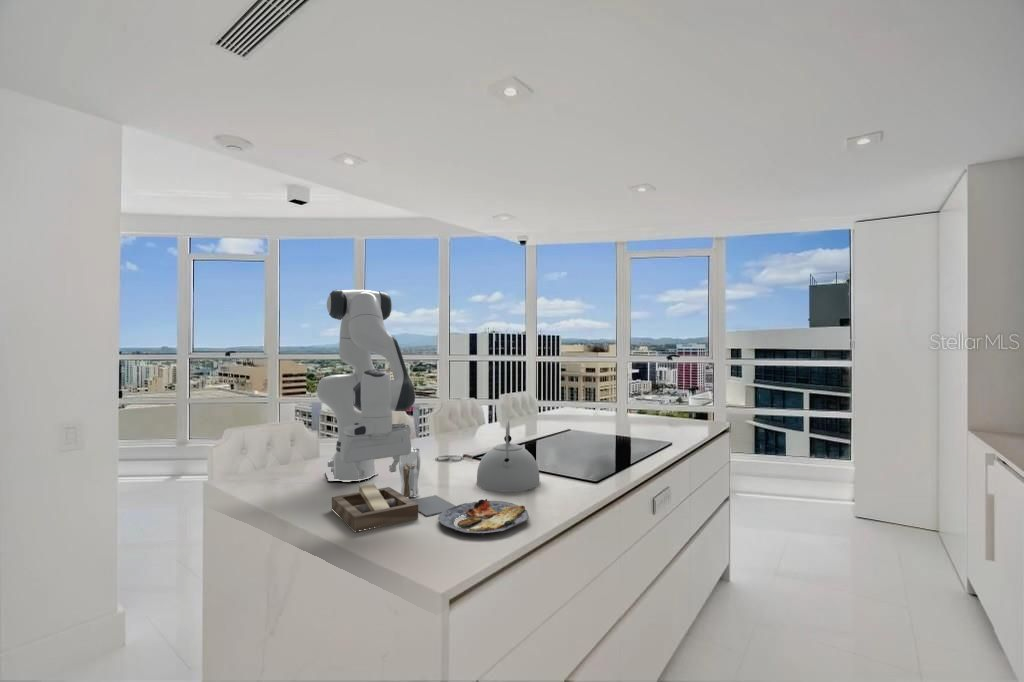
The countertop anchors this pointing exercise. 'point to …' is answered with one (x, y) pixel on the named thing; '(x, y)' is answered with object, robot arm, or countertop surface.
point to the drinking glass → (410, 473)
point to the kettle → (508, 468)
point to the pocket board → (362, 517)
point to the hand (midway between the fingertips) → (377, 474)
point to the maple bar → (373, 497)
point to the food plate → (484, 516)
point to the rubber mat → (432, 505)
